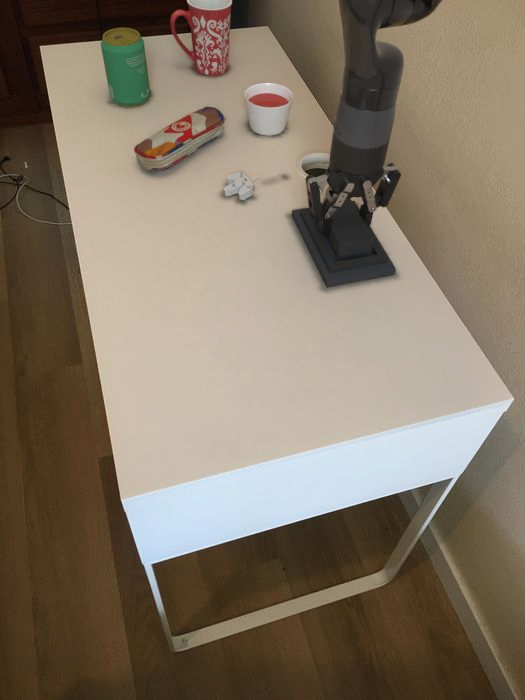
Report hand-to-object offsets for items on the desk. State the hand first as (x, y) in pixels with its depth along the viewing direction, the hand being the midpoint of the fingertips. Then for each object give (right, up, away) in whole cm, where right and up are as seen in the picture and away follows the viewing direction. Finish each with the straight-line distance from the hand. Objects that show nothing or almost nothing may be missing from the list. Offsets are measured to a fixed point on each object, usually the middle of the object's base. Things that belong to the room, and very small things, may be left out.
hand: (343, 230), depth 88 cm
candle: (-12, +25, +23) cm, 35 cm away
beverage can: (-39, +32, +28) cm, 58 cm away
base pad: (0, -2, +2) cm, 3 cm away
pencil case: (-27, +18, +17) cm, 37 cm away
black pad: (0, 0, 0) cm, 1 cm away
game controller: (-14, +10, +11) cm, 20 cm away
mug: (-25, +43, +36) cm, 61 cm away
